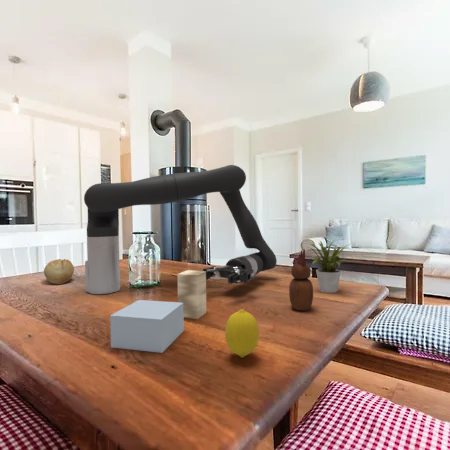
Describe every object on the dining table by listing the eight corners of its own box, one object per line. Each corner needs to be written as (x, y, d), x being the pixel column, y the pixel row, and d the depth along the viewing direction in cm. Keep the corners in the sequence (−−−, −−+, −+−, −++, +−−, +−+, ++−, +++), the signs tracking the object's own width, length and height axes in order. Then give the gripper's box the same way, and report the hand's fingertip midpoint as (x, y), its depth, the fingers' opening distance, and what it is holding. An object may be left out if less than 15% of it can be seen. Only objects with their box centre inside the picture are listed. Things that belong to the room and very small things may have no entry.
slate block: (111, 348, 54) (110, 315, 54) (139, 327, 64) (138, 299, 64) (162, 354, 52) (161, 319, 52) (183, 331, 61) (183, 302, 61)
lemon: (224, 350, 52) (223, 305, 52) (255, 349, 53) (255, 303, 52) (227, 366, 47) (226, 315, 46) (262, 364, 47) (261, 314, 47)
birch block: (178, 316, 70) (177, 274, 69) (187, 310, 74) (187, 270, 74) (197, 319, 68) (197, 275, 68) (206, 312, 73) (205, 271, 72)
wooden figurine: (314, 313, 71) (314, 250, 70) (289, 312, 72) (289, 249, 72) (311, 305, 78) (311, 247, 77) (289, 304, 79) (288, 246, 78)
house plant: (291, 290, 92) (291, 237, 91) (312, 283, 102) (312, 234, 101) (337, 299, 82) (337, 240, 82) (355, 289, 92) (355, 236, 92)
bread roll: (71, 276, 118) (70, 256, 118) (77, 283, 106) (76, 260, 106) (42, 279, 113) (41, 258, 113) (45, 287, 101) (45, 263, 100)
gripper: (221, 255, 98) (193, 262, 84) (262, 258, 91) (239, 266, 77) (222, 278, 98) (193, 289, 84) (263, 282, 91) (239, 295, 77)
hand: (215, 278), depth 80 cm, fingers open, 8 cm apart
